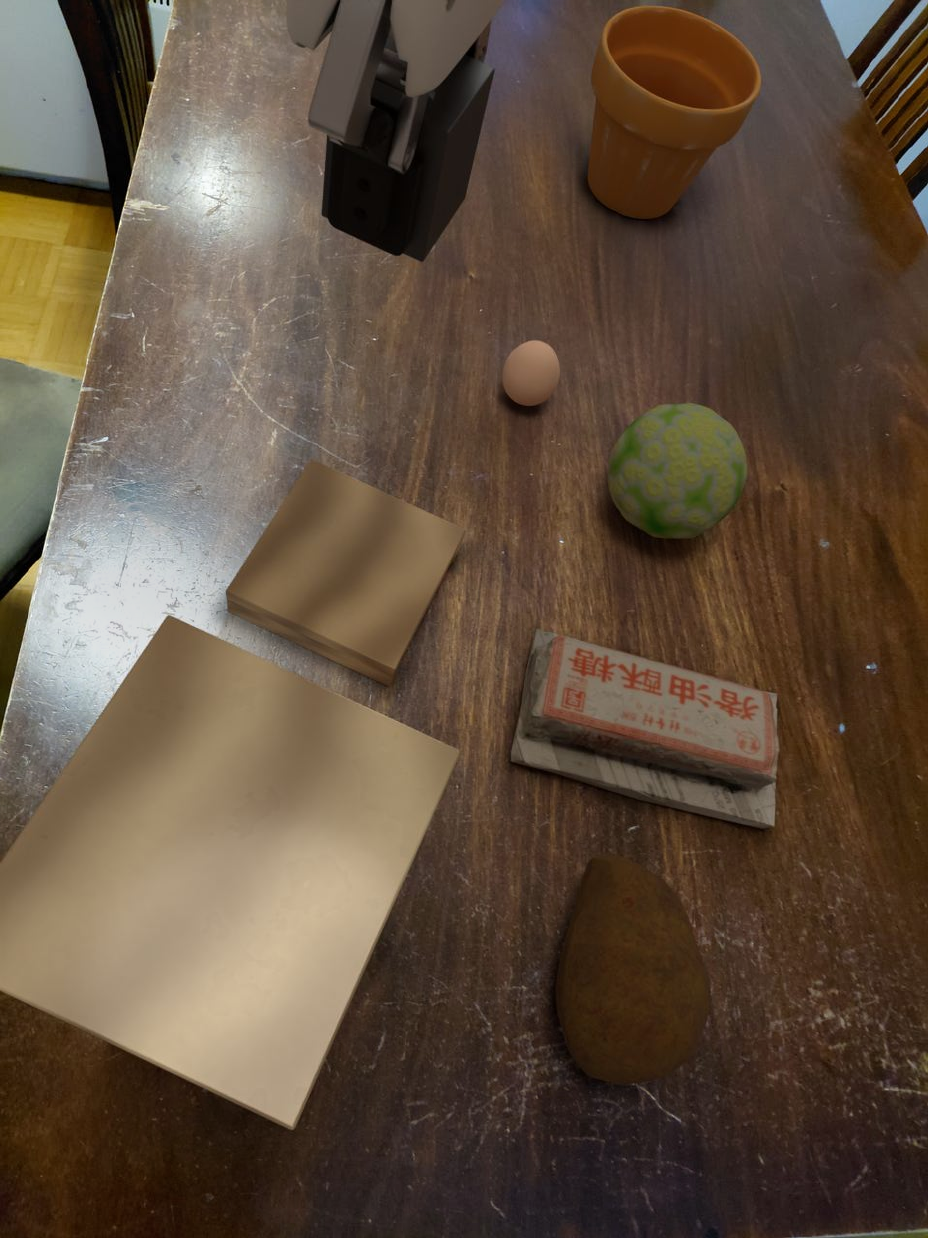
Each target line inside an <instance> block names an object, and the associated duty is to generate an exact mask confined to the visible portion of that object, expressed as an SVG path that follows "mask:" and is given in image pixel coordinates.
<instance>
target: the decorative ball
mask: <svg viewBox="0 0 928 1238" xmlns="http://www.w3.org/2000/svg"><path fill="white" fill-rule="evenodd" d="M609 454H610V455H609V458H608V471H607V484H608V489H609V493H610V496H611V499H612V502H613V504H614V505H615V507H616V509H617V510H618V511H619V512H620V514H621V516H622V517H623V518H624V519H625V521H627V522H628V523H630V524H631V525H633V526H634V527H636V528H637V529H640V530H641V531H643V532H644V533H646V534H648V535H650V536H651V537H653V538H658V539H674V540H675V539H678V540H681V539H683V540H684V539H693V538H695V537H697V536H700V535H702V534H704V533H706V532H708V531H710V530H711V529H713V528H714V527H716V526H717V525H719V524H720V523H721V522H722V521H723V520H724V519H725V518H726V517H727V516H728V515H729V514H730V513H731V511H732V510H733V509H734V508H735V506H736V504H737V503H738V501H739V498H740V497H741V494H742V492H743V490H744V487H745V483H746V482H747V477H748V464H747V463H748V462H747V455H746V451H745V448H744V444H743V442H742V440H741V439H740V436H739V434H738V432H737V431H736V429H735V428H734V426H733V425H732V424H731V423H730V422H729V421H727V420H726V419H724V418H723V417H722V416H720V415H719V413H717V412H716V411H715V410H713V409H712V408H709V407H707V406H704V405H702V404H696V403H695V402H684V403H667V404H665V403H664V404H659V405H657V406H655V407H653V408H651V409H649V410H647V411H646V412H644V413H642V414H641V415H640V416H638V417H637V418H636V419H635V420H633V421H632V423H630V424H629V425H628V426H627V427H626V428H625V429H624V431H623V432H622V433H621V434H620V436H619V437H618V438H617V440H616V442H615V444H614V446H613V448H612V450H611V451H610V453H609Z"/></svg>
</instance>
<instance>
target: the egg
mask: <svg viewBox="0 0 928 1238" xmlns="http://www.w3.org/2000/svg"><path fill="white" fill-rule="evenodd" d="M501 374H502V375H501V380H502V381H501V382H502V386H503V389H504V391H505V392H506V394H507V396H508V397H509V398H510V400H512V401H513V402H514V403H516V404H519V405H521V406H526V407H532V406H538V405H540V404H542V403H544V402H546V401H547V400H548V399H549V398H550V397H551V396H552V395H553V394H554V392H555V391H556V389H557V387H558V384H559V381H560V375H561V367H560V362H559V358H558V355H557V354H556V352H555V351H554V348H552V347H551V346H550V345H549V344H548V343H546V342H544V341H542V340H537V339H536V340H535V339H534V340H528V341H525V342H524V343H521V344H520V345H518V346H517V347H516V348H514V349H513V350H512V351H511V352H510V354H509V355H508V356H507V358H506V360H505V363H504V365H503V369H502V373H501Z"/></svg>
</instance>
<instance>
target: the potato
mask: <svg viewBox="0 0 928 1238" xmlns="http://www.w3.org/2000/svg"><path fill="white" fill-rule="evenodd" d="M585 866H586V867H585V869H584V873H583V876H582V878H581V882H580V885H579V889H578V891H577V896H576V899H575V903H574V906H573V910H572V913H571V916H570V921H569V923H568V926H567V930H566V933H565V938H564V941H563V944H562V948H561V953H560V959H559V964H558V969H557V976H556V983H555V1002H556V1012H557V1017H558V1020H559V1024H560V1029H561V1033H562V1036H563V1038H564V1041H565V1044H566V1047H567V1050H568V1053H569V1055H570V1056H571V1058H572V1059H573V1060H574V1062H575V1063H576V1064H577V1065H578V1067H579V1068H580V1069H581V1071H582V1072H583V1073H584V1074H585V1075H586V1076H587V1077H590V1078H592V1079H596V1080H600V1081H603V1082H607V1083H611V1084H613V1085H617V1086H622V1087H624V1086H629V1085H635V1084H640V1083H646V1082H650V1081H657V1080H660V1079H664V1078H666V1077H668V1075H671V1074H672V1073H673V1072H674V1071H676V1070H678V1069H679V1068H680V1067H681V1066H683V1065H685V1063H687V1062H689V1061H690V1059H691V1057H692V1055H693V1053H694V1051H695V1049H696V1047H697V1045H698V1043H699V1041H700V1039H701V1037H702V1035H703V1032H704V1028H705V1026H706V1023H707V1020H708V1017H709V1015H710V1006H711V1005H710V1004H711V994H712V992H711V991H712V990H711V989H712V988H711V986H710V985H711V984H710V981H709V977H708V974H707V973H708V972H707V970H706V966H705V963H704V960H703V957H702V955H701V952H700V948H699V947H698V944H697V941H696V938H695V937H696V936H695V934H694V930H693V927H692V924H691V921H690V918H689V915H688V913H687V911H686V908H685V906H684V905H683V903H682V901H681V899H680V897H679V894H678V893H677V892H675V890H674V889H673V888H672V887H671V886H670V885H669V884H668V883H667V882H666V881H665V880H664V879H663V878H662V877H661V876H660V875H659V874H657V873H655V872H654V871H652V870H650V869H648V868H647V867H645V866H643V865H641V864H639V863H637V862H634V861H632V860H630V859H628V858H625V857H624V856H621V855H619V854H616V853H613V852H611V851H610V852H607V853H604V854H600V855H596V856H594V857H593V856H592V858H591V859H589V861H587V863H586V865H585Z"/></svg>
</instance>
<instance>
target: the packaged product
mask: <svg viewBox="0 0 928 1238" xmlns="http://www.w3.org/2000/svg"><path fill="white" fill-rule="evenodd" d="M529 651H530V652H529V656H528V660H527V666H526V670H525V673H524V674H525V675H524V682H523V689H522V697H521V703H520V704H521V705H520V709H519V713H518V717H517V722H516V727H515V732H514V735H513V741H512V745H511V750H510V762H511V763H515V764H518V765H521V766H527V767H529V768H533V769H538V770H541V771H546V772H549V773H553V774H555V775H559V776H562V777H565V778H568V779H572V780H574V781H578V782H580V783H584V784H587V785H590V786H593V787H596V788H600V789H603V790H607V791H610V792H613V793H616V794H618V795H622V796H626V797H629V798H632V799H635V800H639V801H642V802H648V803H652V804H655V805H660V806H663V807H667V808H668V807H669V808H673V809H677V810H682V811H685V812H690V813H694V814H698V815H703V816H705V817H712V818H715V819H719V820H724V821H728V822H732V823H736V824H741V825H744V826H748V827H753V828H758V829H770V828H774V827H775V826H776V825H775V820H776V788H777V787H776V786H777V785H776V783H777V780H778V778H777V771H778V760H779V754H780V751H781V749H780V745H779V744H780V743H779V737H778V735H777V733H778V731H777V730H778V729H777V728H778V708H777V700H778V693H775V692H769V691H766V690H764V689H758V688H757V687H754V686H752V685H748V684H745V683H739V682H736V681H732V680H729V679H725V678H721V677H717V676H715V675H710V674H706V673H702V672H700V671H699V672H698V671H696V670H692V669H688V668H685V667H681V666H679V665H678V666H677V665H672V664H669V663H666V662H663V661H659V660H655V659H651V658H648V657H644V656H642V655H641V656H640V655H638V654H635V653H634V654H633V653H631V652H626V651H624V650H623V651H622V650H618V649H616V648H611V647H608V646H604V645H601V644H597V643H594V642H591V641H585V640H582V639H578V638H575V637H572V636H568V635H565V634H558V633H555V632H551V631H547V630H543V629H540V628H536V629H534V633H533V638H532V643H531V647H530V650H529Z"/></svg>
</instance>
